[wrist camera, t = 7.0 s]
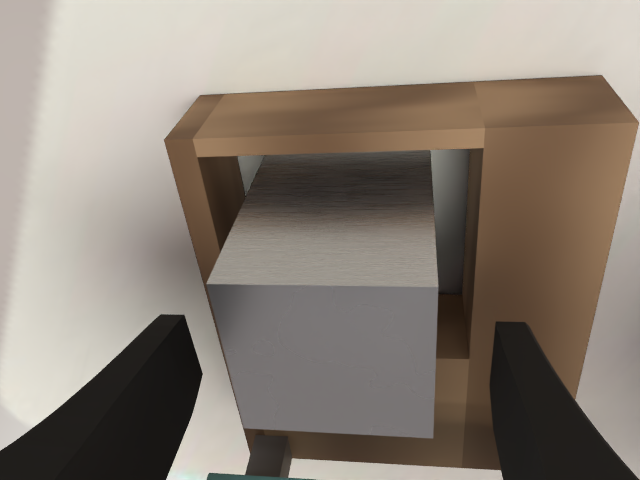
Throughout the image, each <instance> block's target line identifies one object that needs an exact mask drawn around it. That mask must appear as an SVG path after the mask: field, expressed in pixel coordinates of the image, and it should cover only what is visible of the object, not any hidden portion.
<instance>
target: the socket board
mask: <svg viewBox="0 0 640 480" xmlns="http://www.w3.org/2000/svg"><path fill="white" fill-rule="evenodd" d="M638 124H639V122H638V121H637V119H636V118H635V117H634V115H633V114H632V113H631V112H630V110H629V109H628V108H627V106H626V105H625V104H624V103H623V101H622V100H621V99H620V98H619V96H618V95H617V94H616V92H615V91H614V90H613V89H612V87H611V86H610V85H609V84H608V82H607V81H606V80H605V78H604V77H603V76H602V75H601V76H581V77H561V78H541V79H521V80H500V81H480V82H460V83H440V84H420V85H400V86H380V87H360V88H340V89H320V90H300V91H280V92H260V93H240V94H220V95H200V96H199V97H198V99H197V100H196V101H195V102H194V104H193V105H192V106H191V107H190V108H189V110H188V111H187V112H186V113H185V115H184V116H183V117H182V118H181V120H180V121H179V122H178V123H177V125H176V126H175V127H174V128H173V130H172V131H171V132H170V133H169V134H168V136H167V137H166V138H165V139H164V142H165V145H166V149H167V153H168V156H169V160H170V163H171V167H172V171H173V174H174V178H175V182H176V185H177V189H178V193H179V196H180V200H181V203H182V207H183V211H184V214H185V218H186V222H187V225H188V229H189V233H190V236H191V240H192V243H193V247H194V251H195V254H196V258H197V262H198V265H199V269H200V273H201V276H202V280H203V283H204V287H205V291H206V294H207V298H208V302H209V305H210V309H211V313H212V316H213V320H214V323H215V327H216V331H217V334H218V338H219V342H220V345H221V349H222V353H223V356H224V360H225V363H226V367H227V371H228V374H229V378H230V382H231V385H232V381H231V377H230V373H229V370H228V366H227V362H226V358H225V354H224V350H223V347H222V343H221V339H220V335H219V331H218V327H217V324H216V320H215V316H214V312H213V308H212V304H211V301H210V297H209V293H208V289H207V285H206V283H207V281H208V279H209V277H210V275H211V272H212V270H213V268H214V266H215V264H216V261H217V259H218V257H219V255H220V253H221V250H222V248H223V246H224V244H225V242H226V239H227V237H228V235H229V233H230V231H231V229H232V226H233V224H234V222H235V220H236V218H237V215H238V213H239V211H240V209H241V207H242V204H243V202H244V200H245V193H244V188H243V183H242V178H241V173H240V168H239V163H238V158H237V156H249V155H281V154H312V153H344V152H376V151H408V150H439V149H470V159H469V177H468V196H467V214H466V233H465V251H464V270H463V289H462V295H451V294H438V312H437V341H436V371H435V400H434V429H433V438H416V437H397V436H378V435H360V434H341V433H323V432H304V431H285V430H267V429H248V428H244V427H243V429H244V432H245V436H246V440H247V443H248V447H249V451H250V458H249V462H248V466H247V470H246V474H245V475H234V474H218V473H209V474H208V477H207V480H314V479H298V478H288V475H289V470H290V465H291V460H292V458H297V459H314V460H332V461H349V462H367V463H385V464H402V465H420V466H437V467H455V468H472V469H490V470H501V466H500V461H499V456H498V451H497V446H496V441H495V436H494V431H493V422H492V411H491V400H490V387H489V383H490V373H491V363H492V353H493V343H494V333H495V323H496V321H503V322H526V323H527V324H528V325H529V326H530V328H531V330H532V332H533V334H534V336H535V338H536V340H537V341H538V343H539V345H540V347H541V349H542V350H543V352H544V354H545V355H546V357H547V359H548V360H549V362H550V363H551V365H552V367H553V368H554V370H555V371H556V373H557V375H558V376H559V378H560V379H561V381H562V382H563V384H564V385H565V387H566V388H567V389H568V391H569V392H570V394H571V395H572V397H573V398H574V400H575V398H576V394H577V389H578V385H579V381H580V376H581V372H582V367H583V363H584V359H585V354H586V350H587V346H588V341H589V337H590V333H591V328H592V324H593V320H594V315H595V311H596V307H597V302H598V298H599V294H600V289H601V285H602V281H603V276H604V272H605V268H606V263H607V259H608V255H609V250H610V246H611V242H612V237H613V233H614V229H615V224H616V220H617V216H618V211H619V207H620V203H621V198H622V194H623V190H624V185H625V181H626V177H627V172H628V168H629V164H630V159H631V155H632V151H633V146H634V142H635V137H636V133H637V129H638ZM232 389H233V385H232ZM233 393H234V389H233ZM234 396H235V393H234ZM235 400H236V396H235ZM236 403H237V400H236ZM237 407H238V404H237ZM238 411H239V408H238ZM239 414H240V412H239ZM240 418H241V416H240ZM241 422H242V419H241ZM242 425H243V423H242Z"/></svg>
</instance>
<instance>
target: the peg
mask: <svg viewBox="0 0 640 480" xmlns="http://www.w3.org/2000/svg"><path fill="white" fill-rule="evenodd" d="M206 285H207V289H208V293H209V297H210V301H211V304H212V308H213V312H214V316H215V320H216V324H217V327H218V331H219V335H220V339H221V343H222V347H223V350H224V354H225V358H226V362H227V366H228V370H229V373H230V377H231V381H232V385H233V389H234V393H235V396H236V400H237V404H238V408H239V412H240V416H241V419H242V423H243V427H244V428H248V429H267V430H285V431H304V432H323V433H341V434H360V435H378V436H397V437H416V438H433V429H434V400H435V371H436V341H437V312H438V272H437V255H436V238H435V221H434V204H433V187H432V170H431V153H430V150H408V151H376V152H344V153H312V154H281V155H265V156H264V158H263V161H262V163H261V165H260V167H259V169H258V172H257V174H256V176H255V178H254V180H253V182H252V185H251V187H250V189H249V191H248V193H247V196H246V198H245V200H244V202H243V204H242V207H241V209H240V211H239V213H238V215H237V218H236V220H235V222H234V224H233V226H232V229H231V231H230V233H229V235H228V237H227V239H226V242H225V244H224V246H223V248H222V250H221V253H220V255H219V257H218V259H217V261H216V264H215V266H214V268H213V270H212V272H211V275H210V277H209V279H208V281H207V283H206Z"/></svg>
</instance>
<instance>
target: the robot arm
mask: <svg viewBox="0 0 640 480" xmlns="http://www.w3.org/2000/svg"><path fill="white" fill-rule="evenodd" d="M202 375H203V373H202V370H201V367H200V364H199V361H198V357H197V354H196V351H195V348H194V345H193V341H192V338H191V335H190V332H189V328H188V325H187V322H186V319H185V316H184V315H163V314H161V315H159V316H158V317H157V318H156V319H155V320H154V321H153V322H152V323H151V324H150V325H149V326H148V327H147V328H146V329H145V330H143V331H142V332H141V333H140V334H139V335H138V336H137V337H136V338H135V339H134V340H133V341H132V342H131V343H130V344H129V345H128V346H127V347H126V348H125V349H124V350H123V351H122V352H121V353H120V354H119V355H118V356H116V357H115V358H114V359H113V360H112V361H111V362H110V363H109V364H108V365H107V366H106V367H105V368H104V369H103V370H102V371H100V372H99V373H98V374H97V375H96V376H95V377H94V378H93V379H92V380H91V381H89V382H88V383H87V384H86V385H85V386H84V387H82V388H81V389H80V390H79V391H78V392H77V393H75V394H74V395H73V396H72V397H71V398H70V399H69V400H67V401H66V402H65V403H64V404H63V405H62V406H60V407H59V408H58V409H57V410H55V411H54V412H53V413H52V414H51V415H49V416H48V417H47V418H45V419H44V420H43V421H42V422H40V423H39V424H38V425H36V426H35V427H33V428H32V429H31V430H29V431H28V432H27V433H25V434H24V435H23V436H21V437H20V438H19V439H17V440H16V441H14V442H13V443H12V444H10V445H8V446H7V447H5V448H4V449H2V450H1V451H0V480H166V478H167V476H168V473H169V471H170V468H171V466H172V464H173V461H174V459H175V456H176V454H177V451H178V449H179V446H180V444H181V441H182V439H183V436H184V434H185V431H186V429H187V426H188V424H189V421H190V419H191V416H192V413H193V410H194V406H195V402H196V399H197V395H198V391H199V387H200V383H201V379H202ZM489 387H490V400H491V411H492V422H493V431H494V436H495V441H496V446H497V451H498V456H499V461H500V466H501V471H502V476H503V480H639V479H638V478H637V477H636V475H635V474H634V473H633V472H632V471H631V470H630V469H629V468H628V466H627V465H626V464H625V463H624V462H623V461H622V460H621V459H620V457H619V456H618V455H617V454H616V453H615V451H614V450H613V449H612V448H611V447H610V445H609V444H608V443H607V442H606V441H605V439H604V438H603V437H602V436H601V434H600V433H599V432H598V430H597V429H596V428H595V427H594V425H593V424H592V423H591V421H590V420H589V419H588V417H587V416H586V415H585V413H584V412H583V411H582V409H581V408H580V407H579V405H578V404H577V402H576V401H575V400H574V398H573V397H572V395H571V394H570V392H569V391H568V389H567V388H566V387H565V385H564V384H563V382H562V381H561V379H560V378H559V376H558V375H557V373H556V371H555V370H554V368H553V367H552V365H551V363H550V362H549V360H548V359H547V357H546V355H545V354H544V352H543V350H542V349H541V347H540V345H539V343H538V341H537V340H536V338H535V336H534V334H533V332H532V330H531V328H530V326H529V325H528V324H527V323H526V322H503V321H496V323H495V333H494V343H493V353H492V363H491V373H490V383H489Z"/></svg>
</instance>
